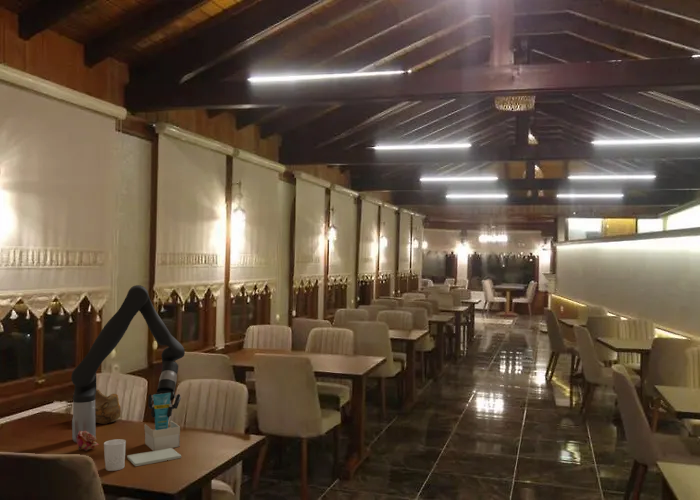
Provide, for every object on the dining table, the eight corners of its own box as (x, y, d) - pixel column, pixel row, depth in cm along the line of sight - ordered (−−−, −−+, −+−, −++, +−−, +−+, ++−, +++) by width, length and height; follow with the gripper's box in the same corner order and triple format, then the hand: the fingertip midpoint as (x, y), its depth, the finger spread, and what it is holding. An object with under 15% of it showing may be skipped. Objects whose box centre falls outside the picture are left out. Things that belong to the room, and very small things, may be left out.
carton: (153, 451, 263) (153, 430, 264) (144, 443, 275) (144, 424, 275) (180, 446, 270) (180, 426, 270) (170, 439, 281) (170, 420, 281)
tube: (154, 440, 268) (154, 395, 269) (151, 438, 272) (151, 393, 273) (171, 438, 273) (172, 393, 273) (168, 435, 277) (168, 391, 277)
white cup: (107, 465, 246) (107, 439, 246) (128, 464, 247) (128, 438, 247) (101, 472, 238) (101, 445, 238) (122, 471, 239) (122, 444, 239)
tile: (135, 466, 244) (135, 463, 244) (127, 457, 255) (127, 455, 255) (181, 457, 254) (181, 455, 254) (171, 450, 265) (171, 447, 265)
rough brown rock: (64, 425, 312) (62, 395, 311) (92, 414, 327) (90, 386, 326) (97, 432, 302) (95, 401, 300) (124, 420, 316) (123, 391, 315)
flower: (70, 450, 260) (82, 434, 261) (68, 440, 268) (80, 424, 269) (91, 460, 265) (102, 443, 266) (88, 450, 273) (100, 434, 274)
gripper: (149, 378, 280) (142, 412, 268) (182, 378, 281) (176, 411, 269) (152, 388, 285) (145, 421, 273) (184, 387, 286) (179, 420, 274)
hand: (160, 416), depth 271 cm, fingers closed on tube, 5 cm apart
